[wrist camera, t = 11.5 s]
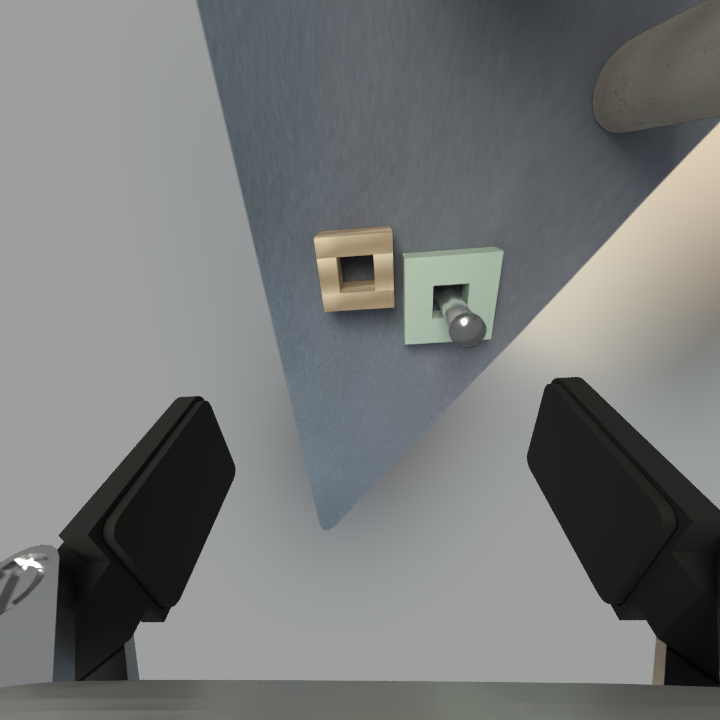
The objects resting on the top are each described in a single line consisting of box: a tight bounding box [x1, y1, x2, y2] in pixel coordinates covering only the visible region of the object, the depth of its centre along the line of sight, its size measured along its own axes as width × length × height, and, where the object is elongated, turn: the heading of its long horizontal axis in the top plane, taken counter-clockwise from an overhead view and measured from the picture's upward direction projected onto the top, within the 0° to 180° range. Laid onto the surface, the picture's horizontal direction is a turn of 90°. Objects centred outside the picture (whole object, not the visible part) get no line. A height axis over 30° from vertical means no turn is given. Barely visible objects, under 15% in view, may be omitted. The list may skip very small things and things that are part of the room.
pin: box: [434, 285, 487, 348], centre depth 39 cm, size 4×4×12 cm
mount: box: [314, 226, 394, 312], centre depth 40 cm, size 9×9×5 cm
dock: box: [402, 246, 504, 345], centre depth 43 cm, size 12×12×3 cm
